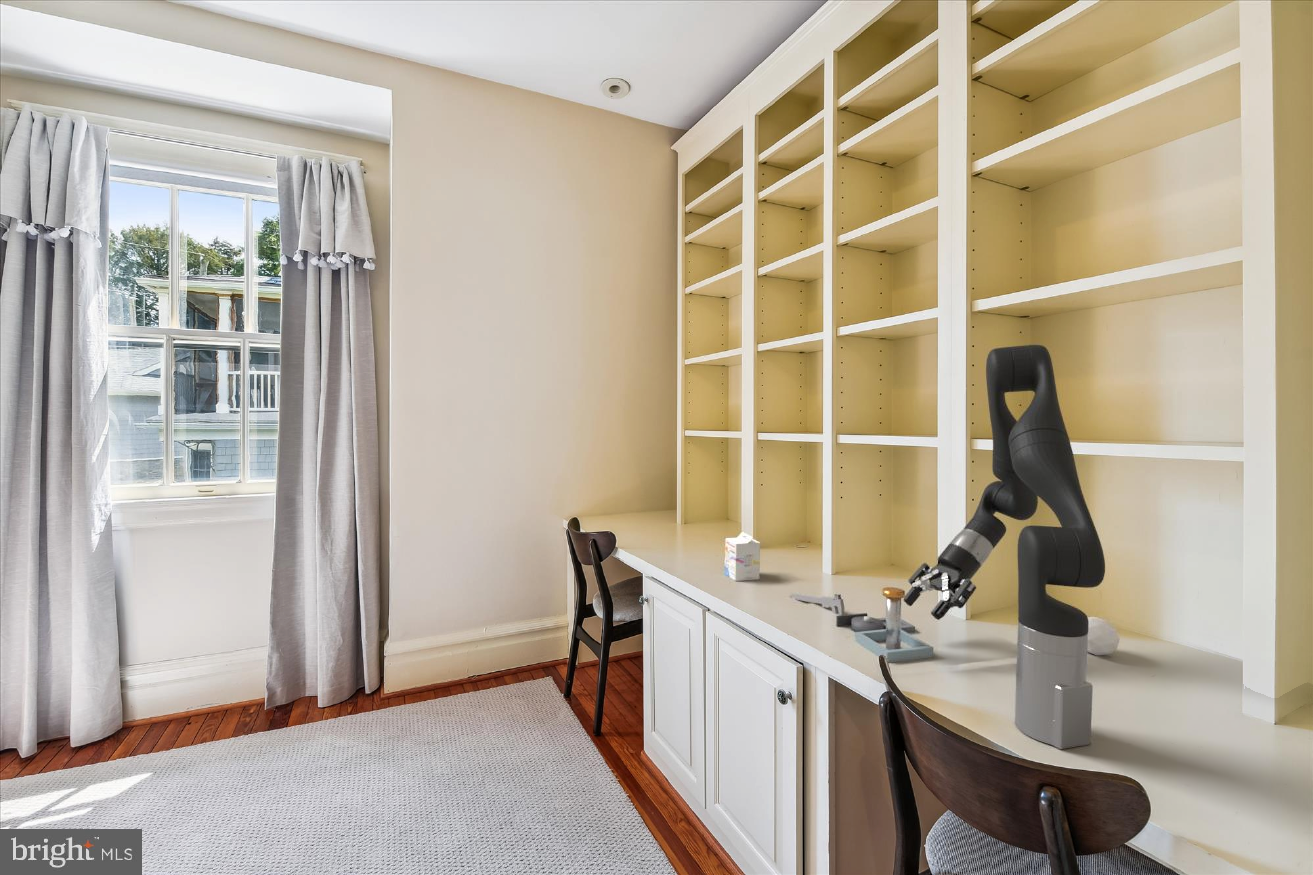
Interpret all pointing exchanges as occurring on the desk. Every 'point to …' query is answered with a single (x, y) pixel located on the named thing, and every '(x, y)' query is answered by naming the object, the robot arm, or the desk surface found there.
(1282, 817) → the desk surface
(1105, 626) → the geometric ball
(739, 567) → the ink box
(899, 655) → the tray
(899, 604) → the pin
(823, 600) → the caliper
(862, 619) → the plate
